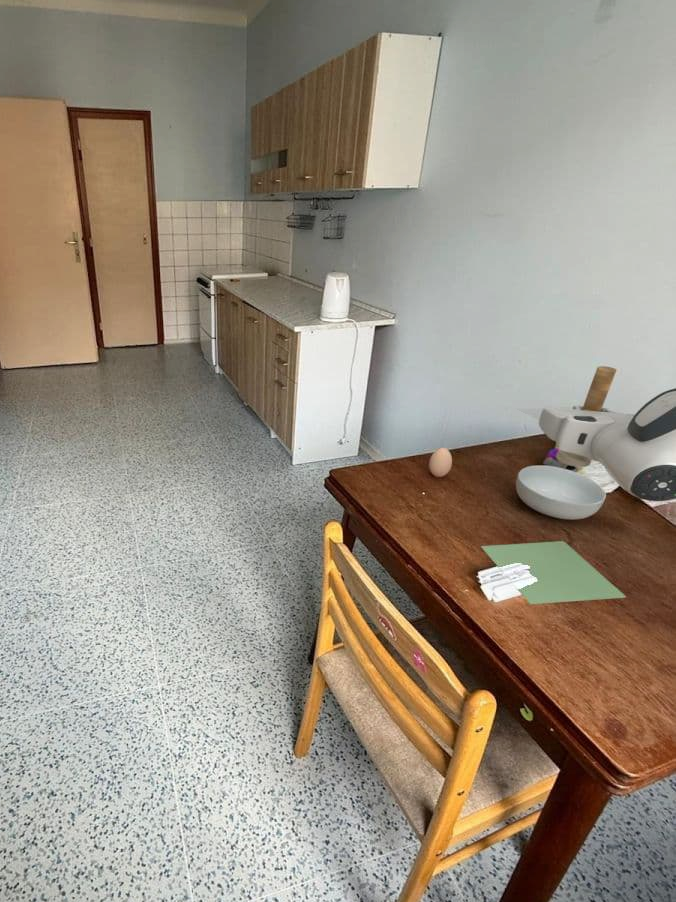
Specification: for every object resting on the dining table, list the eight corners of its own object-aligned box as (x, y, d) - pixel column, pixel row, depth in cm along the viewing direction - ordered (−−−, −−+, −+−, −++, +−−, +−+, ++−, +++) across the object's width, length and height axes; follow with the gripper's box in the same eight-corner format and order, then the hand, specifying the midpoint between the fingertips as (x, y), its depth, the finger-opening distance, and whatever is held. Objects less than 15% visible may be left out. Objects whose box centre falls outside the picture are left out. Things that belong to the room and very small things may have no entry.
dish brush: (575, 452, 102) (609, 363, 93) (596, 466, 97) (634, 372, 87) (549, 454, 102) (580, 364, 92) (569, 467, 97) (604, 374, 87)
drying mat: (562, 543, 98) (563, 540, 98) (625, 599, 84) (626, 597, 84) (479, 548, 97) (480, 546, 97) (529, 606, 83) (530, 603, 83)
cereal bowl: (548, 535, 101) (558, 508, 97) (494, 494, 115) (501, 469, 112) (614, 524, 104) (626, 498, 100) (553, 486, 118) (562, 461, 115)
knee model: (562, 460, 139) (571, 490, 119) (536, 444, 141) (541, 471, 121) (587, 436, 134) (601, 463, 114) (560, 420, 136) (569, 444, 116)
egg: (435, 469, 126) (441, 441, 122) (452, 477, 122) (459, 449, 118) (422, 474, 124) (428, 446, 120) (439, 483, 120) (446, 454, 116)
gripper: (697, 429, 79) (656, 400, 91) (558, 417, 84) (537, 391, 96) (680, 462, 82) (643, 429, 94) (547, 449, 87) (528, 419, 99)
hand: (588, 410), depth 95 cm, fingers closed on dish brush, 3 cm apart
